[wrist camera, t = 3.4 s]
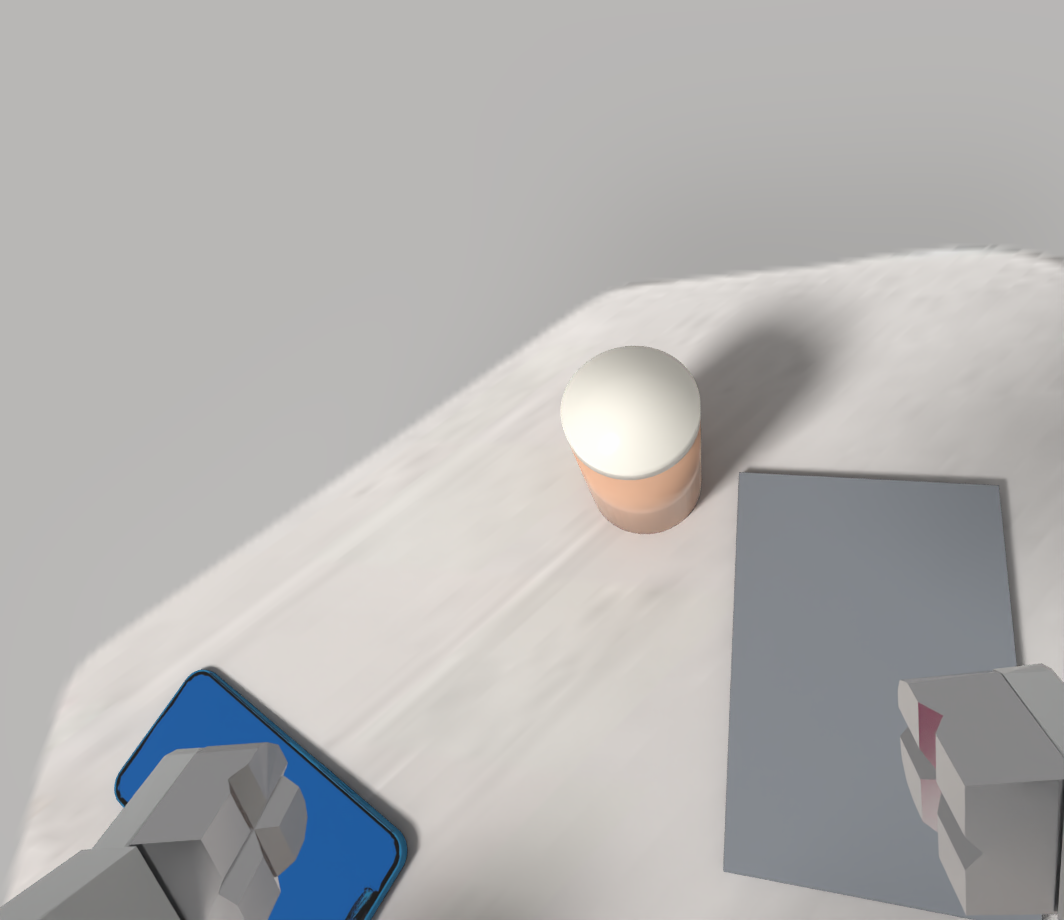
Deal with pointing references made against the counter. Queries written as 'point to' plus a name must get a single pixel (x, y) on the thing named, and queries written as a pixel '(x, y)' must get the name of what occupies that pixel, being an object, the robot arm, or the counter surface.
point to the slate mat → (851, 673)
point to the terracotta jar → (636, 436)
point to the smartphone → (332, 807)
